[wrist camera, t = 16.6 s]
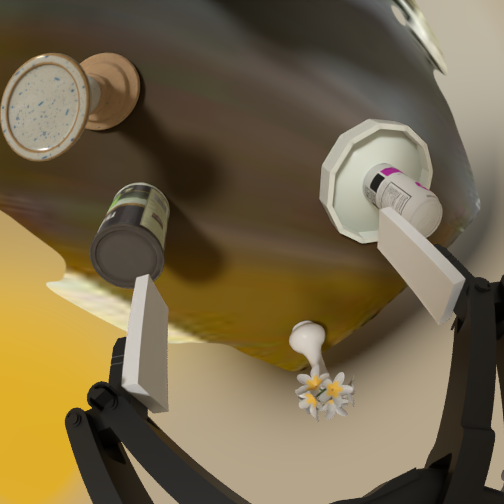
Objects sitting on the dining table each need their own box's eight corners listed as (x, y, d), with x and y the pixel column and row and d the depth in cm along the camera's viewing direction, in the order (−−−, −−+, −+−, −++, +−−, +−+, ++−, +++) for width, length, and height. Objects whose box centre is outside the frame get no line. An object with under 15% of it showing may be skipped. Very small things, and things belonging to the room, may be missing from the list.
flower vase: (297, 298, 65) (336, 392, 45) (338, 324, 75) (376, 402, 54) (257, 330, 69) (282, 423, 49) (302, 351, 79) (331, 428, 58)
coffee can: (103, 221, 46) (80, 270, 35) (127, 171, 42) (104, 210, 31) (153, 245, 51) (145, 299, 39) (181, 200, 47) (178, 246, 36)
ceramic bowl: (364, 94, 41) (375, 97, 38) (437, 161, 51) (447, 166, 48) (296, 206, 52) (302, 215, 49) (379, 247, 61) (387, 256, 58)
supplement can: (385, 153, 47) (438, 186, 35) (400, 184, 52) (448, 221, 39) (353, 178, 49) (401, 218, 37) (371, 208, 54) (415, 251, 42)
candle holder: (54, 94, 32) (-24, 119, 15) (109, 37, 29) (50, 17, 13) (99, 144, 38) (43, 196, 22) (157, 91, 36) (127, 103, 20)
